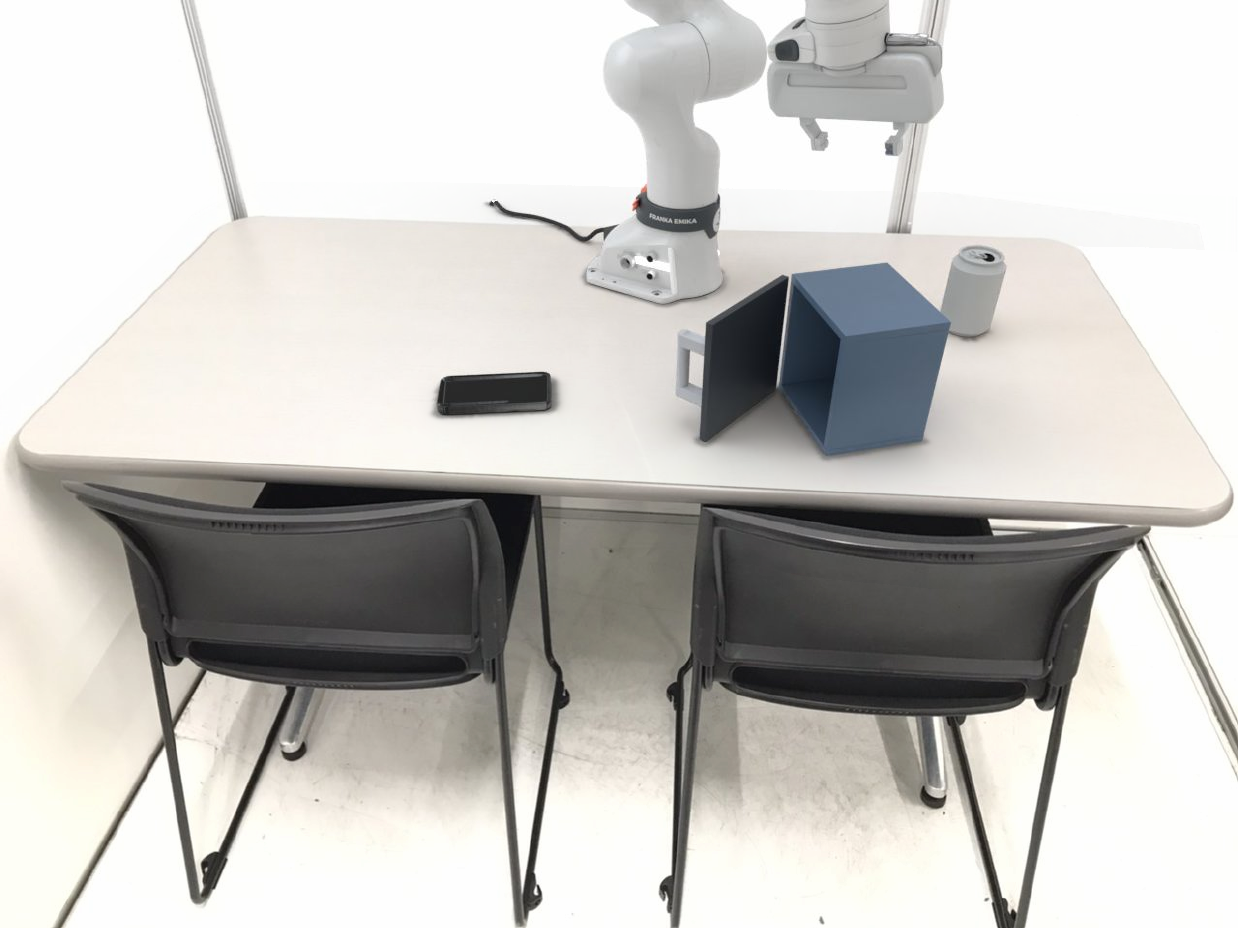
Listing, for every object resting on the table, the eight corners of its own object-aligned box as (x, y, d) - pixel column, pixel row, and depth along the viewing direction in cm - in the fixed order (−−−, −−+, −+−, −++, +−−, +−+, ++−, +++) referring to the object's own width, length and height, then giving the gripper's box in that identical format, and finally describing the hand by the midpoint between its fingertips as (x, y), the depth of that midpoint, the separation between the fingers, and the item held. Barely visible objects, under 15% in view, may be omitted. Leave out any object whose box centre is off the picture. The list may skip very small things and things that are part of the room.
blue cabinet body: (825, 456, 112) (845, 336, 101) (778, 387, 124) (791, 273, 114) (922, 441, 114) (951, 322, 104) (866, 375, 126) (887, 262, 116)
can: (992, 341, 133) (1013, 266, 126) (939, 337, 134) (956, 262, 127) (986, 317, 139) (1006, 243, 132) (935, 312, 140) (952, 239, 133)
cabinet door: (666, 423, 118) (669, 308, 107) (738, 372, 127) (747, 262, 117) (705, 442, 114) (712, 325, 104) (776, 388, 124) (789, 276, 113)
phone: (441, 376, 125) (550, 371, 126) (442, 383, 126) (551, 377, 126) (436, 408, 119) (550, 402, 119) (437, 415, 119) (551, 410, 120)
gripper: (953, 20, 96) (952, 143, 105) (779, 23, 107) (792, 133, 116) (930, 47, 93) (931, 171, 102) (754, 47, 104) (769, 158, 113)
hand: (856, 151), depth 109 cm, fingers open, 8 cm apart
